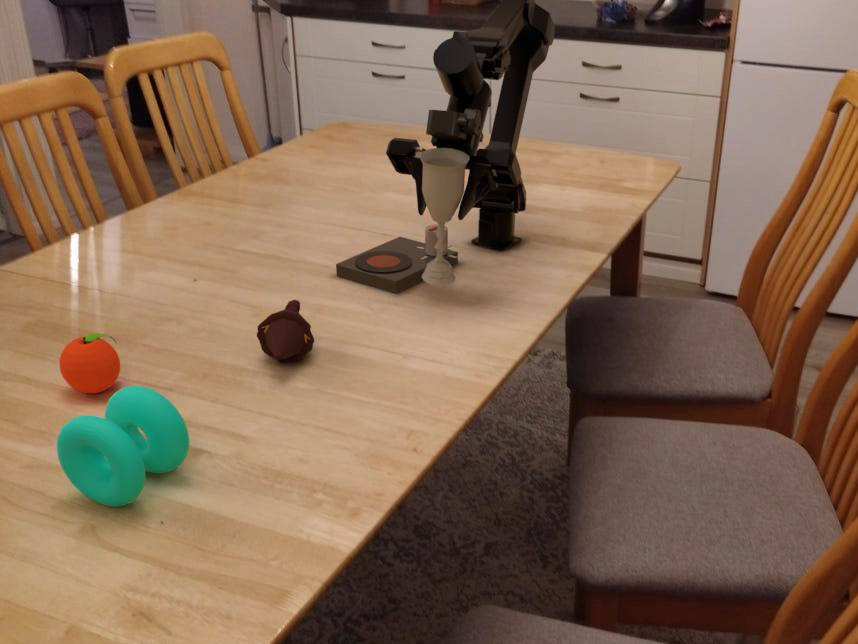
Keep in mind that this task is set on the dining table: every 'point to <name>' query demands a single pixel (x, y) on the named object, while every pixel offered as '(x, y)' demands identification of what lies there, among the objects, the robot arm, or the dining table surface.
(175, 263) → the dining table surface
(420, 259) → the hob
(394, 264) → the burner
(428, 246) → the hob knob
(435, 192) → the chalice
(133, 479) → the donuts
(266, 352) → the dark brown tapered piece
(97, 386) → the clementine
